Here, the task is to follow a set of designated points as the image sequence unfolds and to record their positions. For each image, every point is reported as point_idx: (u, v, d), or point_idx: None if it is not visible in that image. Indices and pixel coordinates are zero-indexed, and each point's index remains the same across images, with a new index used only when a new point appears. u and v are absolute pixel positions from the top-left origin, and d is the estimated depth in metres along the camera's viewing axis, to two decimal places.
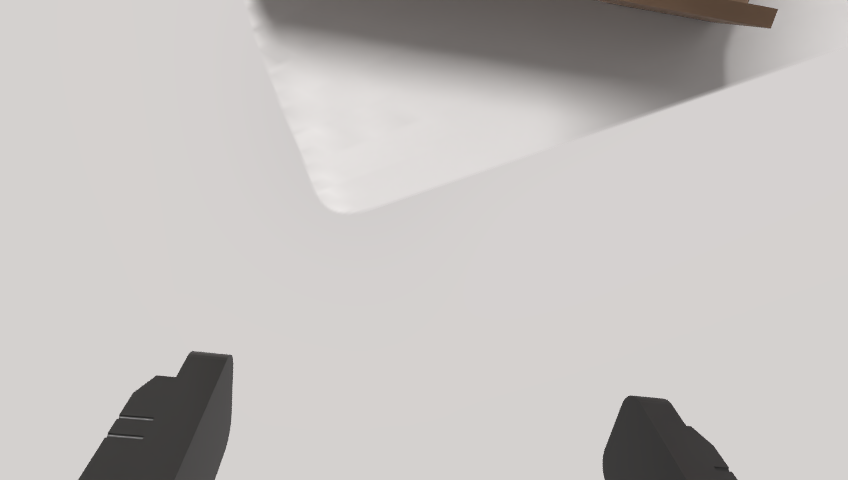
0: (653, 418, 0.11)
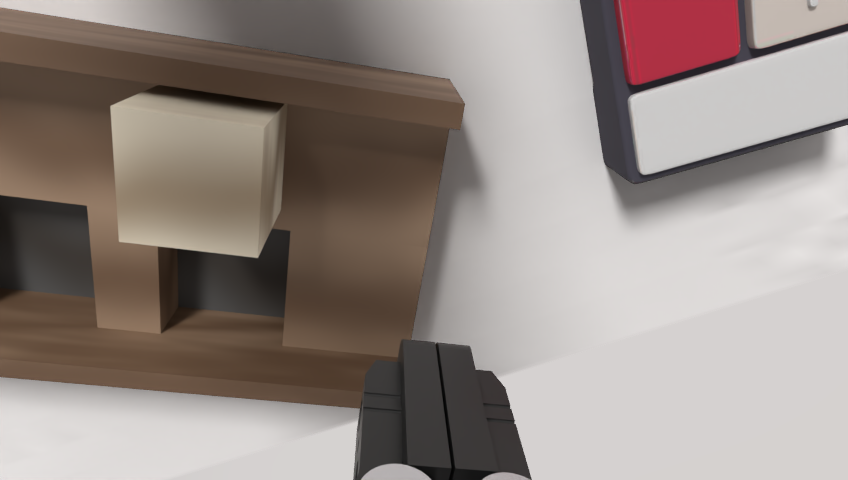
0: (444, 360, 0.11)
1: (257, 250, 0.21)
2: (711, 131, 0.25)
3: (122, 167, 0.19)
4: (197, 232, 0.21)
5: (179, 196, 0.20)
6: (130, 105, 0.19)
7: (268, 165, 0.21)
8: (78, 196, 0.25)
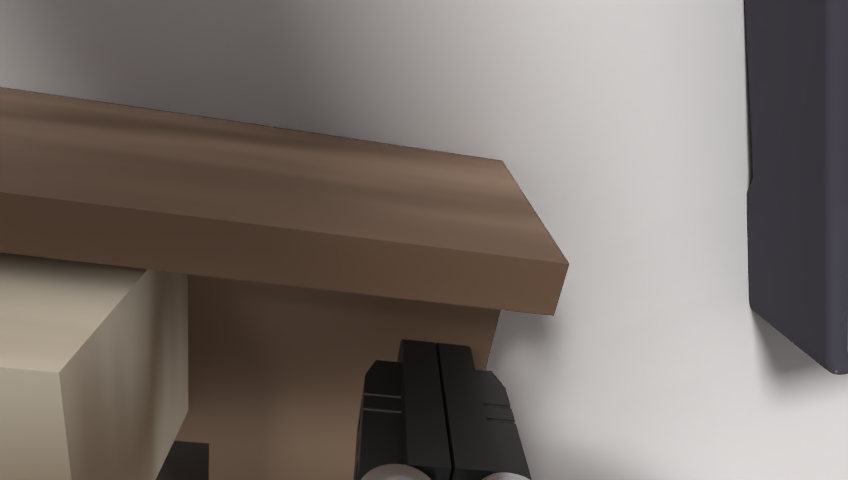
0: (444, 360, 0.11)
1: None
2: None
3: None
4: None
5: None
6: None
7: (110, 411, 0.09)
8: None
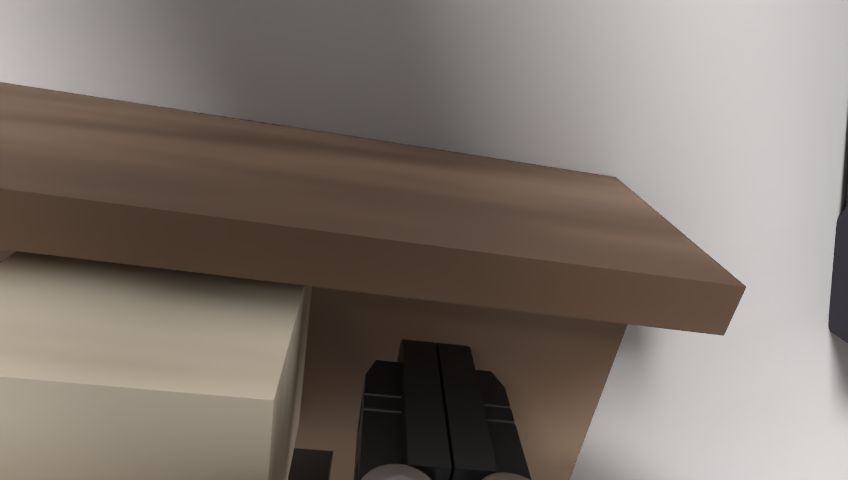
0: (444, 360, 0.11)
1: None
2: None
3: None
4: None
5: None
6: None
7: (281, 432, 0.09)
8: None
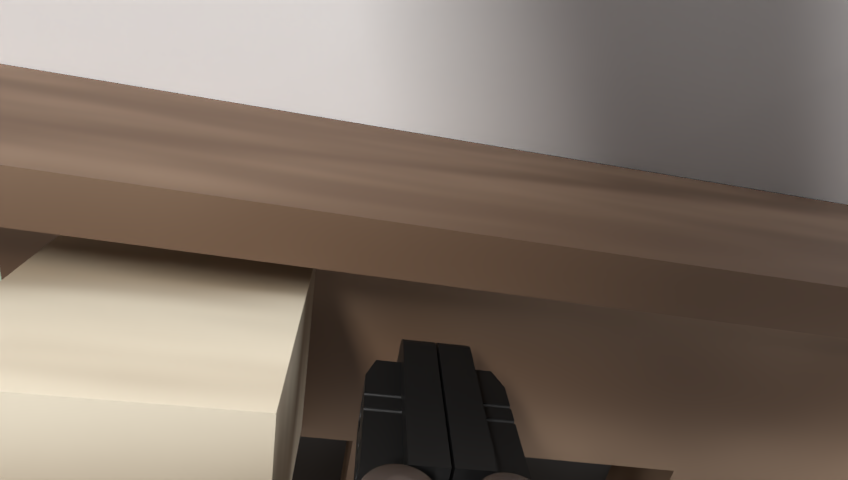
0: (444, 360, 0.11)
1: None
2: None
3: None
4: None
5: None
6: None
7: (284, 441, 0.09)
8: (342, 428, 0.14)
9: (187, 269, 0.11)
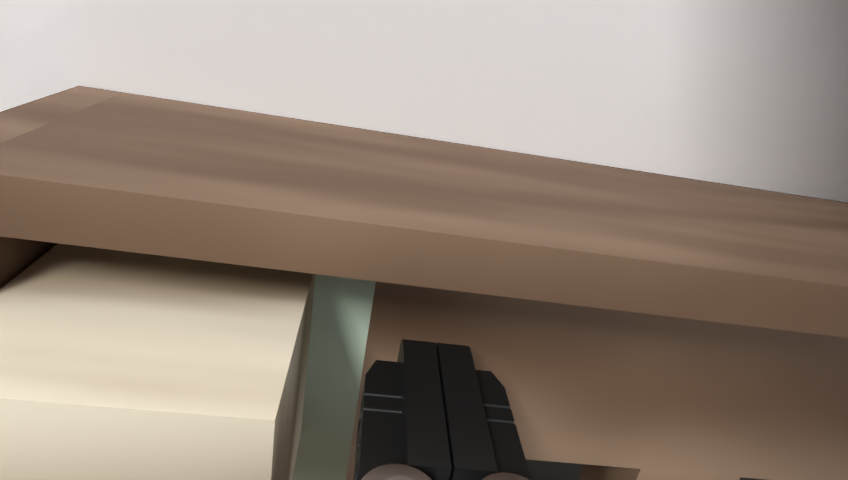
0: (444, 360, 0.11)
1: None
2: None
3: None
4: None
5: None
6: None
7: (283, 447, 0.10)
8: (634, 457, 0.15)
9: (187, 275, 0.11)
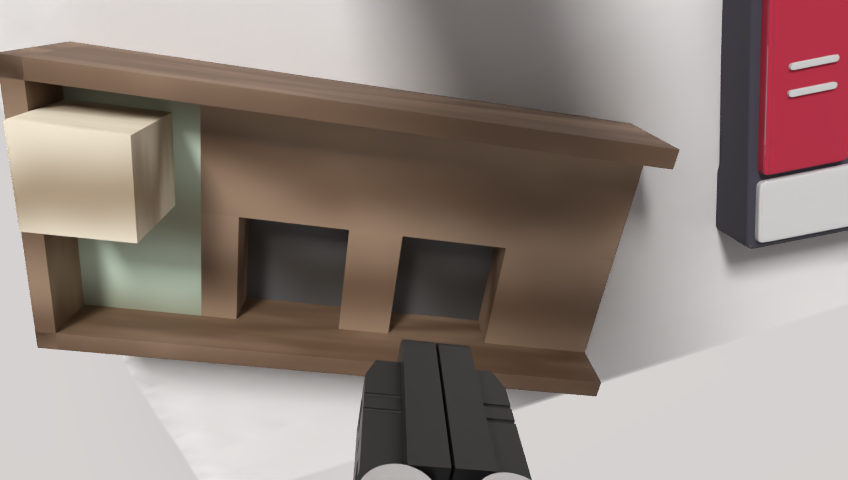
0: (444, 360, 0.11)
1: (136, 237, 0.25)
2: (816, 214, 0.32)
3: (17, 169, 0.24)
4: (84, 222, 0.25)
5: (66, 193, 0.24)
6: (21, 119, 0.24)
7: (144, 166, 0.25)
8: (344, 222, 0.31)
9: (111, 111, 0.27)
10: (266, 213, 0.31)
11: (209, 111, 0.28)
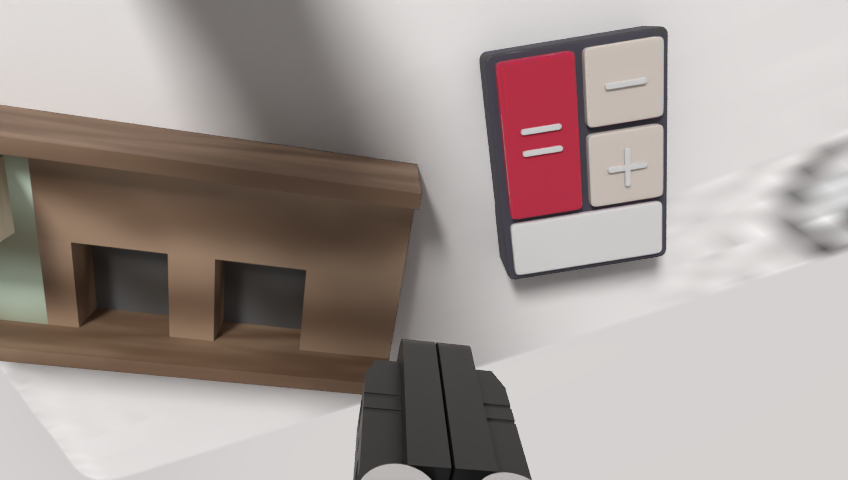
0: (444, 360, 0.11)
1: None
2: (562, 252, 0.38)
3: None
4: None
5: None
6: None
7: None
8: (162, 247, 0.37)
9: None
10: (94, 239, 0.36)
11: None
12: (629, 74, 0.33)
